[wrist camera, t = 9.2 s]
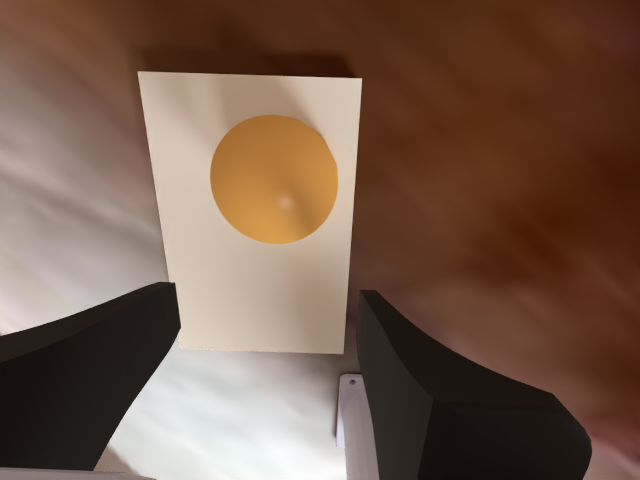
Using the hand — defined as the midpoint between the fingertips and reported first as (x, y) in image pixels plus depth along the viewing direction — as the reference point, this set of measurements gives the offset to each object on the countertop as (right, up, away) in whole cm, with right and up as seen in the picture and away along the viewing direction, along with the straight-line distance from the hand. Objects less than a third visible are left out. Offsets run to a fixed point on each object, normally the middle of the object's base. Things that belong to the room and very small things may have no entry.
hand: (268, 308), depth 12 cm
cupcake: (0, +7, +6) cm, 9 cm away
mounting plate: (-2, +3, +9) cm, 10 cm away
